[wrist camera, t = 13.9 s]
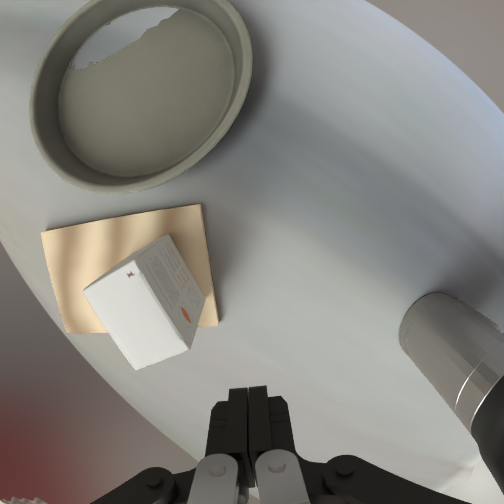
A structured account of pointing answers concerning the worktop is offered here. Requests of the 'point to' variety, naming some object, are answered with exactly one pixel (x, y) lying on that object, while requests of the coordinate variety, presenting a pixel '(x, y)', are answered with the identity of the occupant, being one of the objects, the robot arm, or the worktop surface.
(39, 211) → the worktop surface
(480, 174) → the worktop surface
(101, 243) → the maple board
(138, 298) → the small box
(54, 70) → the cake pan
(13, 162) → the worktop surface
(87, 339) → the worktop surface
